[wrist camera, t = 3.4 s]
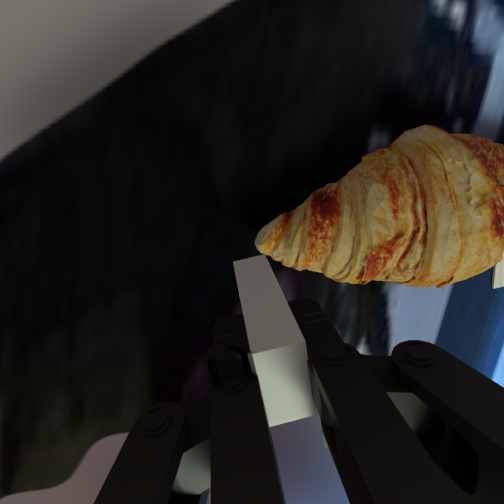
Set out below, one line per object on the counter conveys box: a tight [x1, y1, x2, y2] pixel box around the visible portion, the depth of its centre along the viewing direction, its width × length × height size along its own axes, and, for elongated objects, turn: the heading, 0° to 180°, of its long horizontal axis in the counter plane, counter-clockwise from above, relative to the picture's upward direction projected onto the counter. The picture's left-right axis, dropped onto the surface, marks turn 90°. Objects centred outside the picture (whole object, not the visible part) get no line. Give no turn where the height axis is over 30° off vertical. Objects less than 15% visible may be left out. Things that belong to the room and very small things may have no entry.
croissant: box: [255, 125, 504, 288], centre depth 20 cm, size 21×10×8 cm, turn 102°
